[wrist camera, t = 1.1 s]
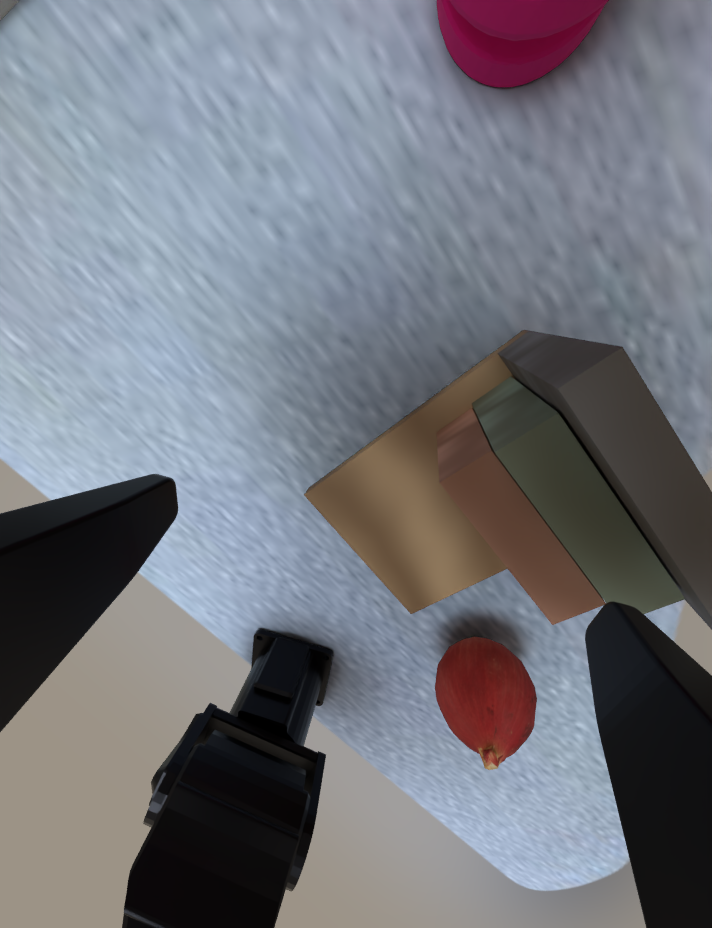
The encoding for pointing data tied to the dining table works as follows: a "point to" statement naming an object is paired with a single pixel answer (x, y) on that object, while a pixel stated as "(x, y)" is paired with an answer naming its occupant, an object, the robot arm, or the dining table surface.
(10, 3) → the notebook
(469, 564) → the book shelf
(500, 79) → the pepper mill
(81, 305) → the dining table surface
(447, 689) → the pomegranate
